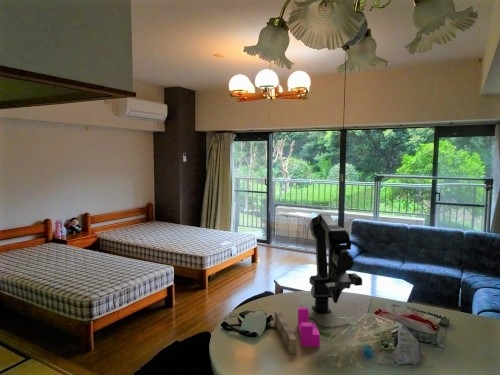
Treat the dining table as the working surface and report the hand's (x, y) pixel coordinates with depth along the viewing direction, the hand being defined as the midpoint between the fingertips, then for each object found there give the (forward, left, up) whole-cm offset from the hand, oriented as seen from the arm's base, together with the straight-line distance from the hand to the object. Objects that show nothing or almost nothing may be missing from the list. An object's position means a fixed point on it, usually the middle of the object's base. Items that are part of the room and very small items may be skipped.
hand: (335, 302), depth 126 cm
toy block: (0, -11, -12) cm, 16 cm away
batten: (0, -20, -12) cm, 23 cm away
